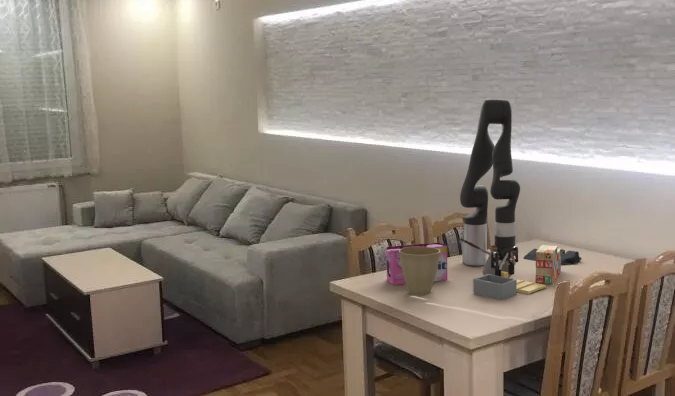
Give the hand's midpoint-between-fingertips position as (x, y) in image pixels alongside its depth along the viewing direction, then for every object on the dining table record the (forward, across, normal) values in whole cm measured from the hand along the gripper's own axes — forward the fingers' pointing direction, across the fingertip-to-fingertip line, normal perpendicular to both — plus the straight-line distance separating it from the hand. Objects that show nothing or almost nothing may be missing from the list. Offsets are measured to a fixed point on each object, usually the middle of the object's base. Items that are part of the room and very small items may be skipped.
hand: (504, 276), depth 266 cm
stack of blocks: (+4, -22, +5) cm, 23 cm away
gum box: (+4, +15, -30) cm, 34 cm away
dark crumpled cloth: (+4, -49, -9) cm, 50 cm away
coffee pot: (+4, -5, -12) cm, 14 cm away
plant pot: (+4, +28, -17) cm, 33 cm away
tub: (+4, +13, +5) cm, 14 cm away
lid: (+4, 0, +5) cm, 6 cm away
